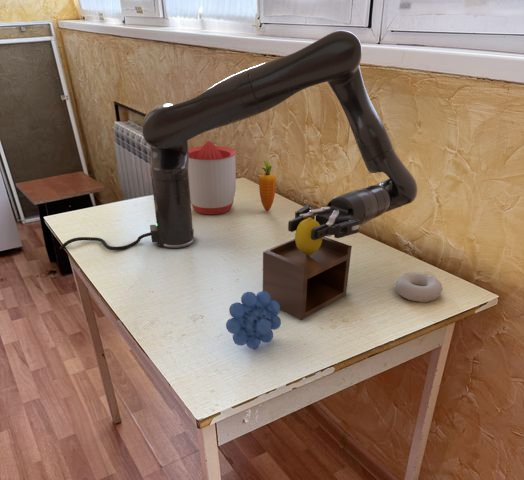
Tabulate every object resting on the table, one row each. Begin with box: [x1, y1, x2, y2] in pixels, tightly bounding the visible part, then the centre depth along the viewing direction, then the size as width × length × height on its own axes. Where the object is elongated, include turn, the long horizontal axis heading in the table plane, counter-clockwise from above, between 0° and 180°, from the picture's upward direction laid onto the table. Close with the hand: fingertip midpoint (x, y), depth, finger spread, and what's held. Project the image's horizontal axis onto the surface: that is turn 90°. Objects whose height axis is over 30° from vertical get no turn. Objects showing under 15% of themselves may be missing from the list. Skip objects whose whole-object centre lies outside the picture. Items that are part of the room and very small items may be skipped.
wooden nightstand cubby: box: [262, 236, 352, 321], centre depth 104 cm, size 15×11×12 cm
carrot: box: [258, 159, 277, 213], centre depth 148 cm, size 5×5×15 cm
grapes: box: [225, 290, 282, 350], centre depth 88 cm, size 12×7×12 cm, turn 125°
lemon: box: [294, 217, 323, 256], centre depth 100 cm, size 6×6×8 cm
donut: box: [394, 272, 443, 303], centre depth 109 cm, size 10×4×10 cm
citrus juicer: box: [188, 140, 237, 215], centre depth 148 cm, size 16×17×20 cm
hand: (301, 230), depth 97 cm, fingers closed on lemon, 5 cm apart
